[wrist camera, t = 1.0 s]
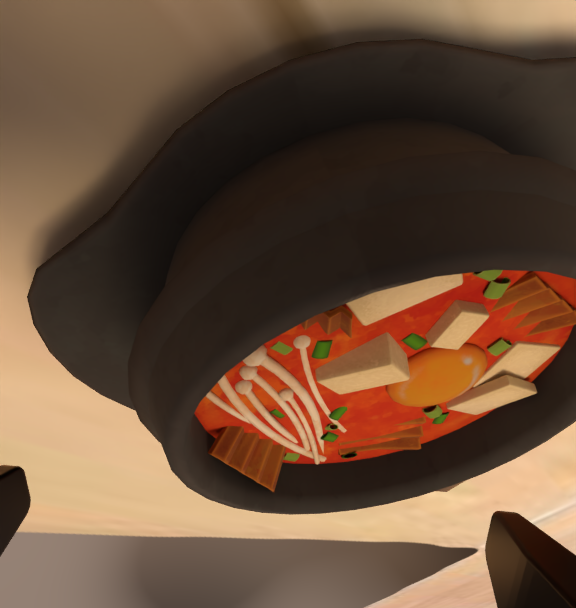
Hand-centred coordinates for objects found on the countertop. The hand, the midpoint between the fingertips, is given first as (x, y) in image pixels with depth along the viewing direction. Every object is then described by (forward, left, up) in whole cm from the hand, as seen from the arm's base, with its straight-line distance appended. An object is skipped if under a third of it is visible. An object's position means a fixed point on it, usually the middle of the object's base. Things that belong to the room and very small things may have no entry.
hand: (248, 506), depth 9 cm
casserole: (+7, -1, -12) cm, 14 cm away
